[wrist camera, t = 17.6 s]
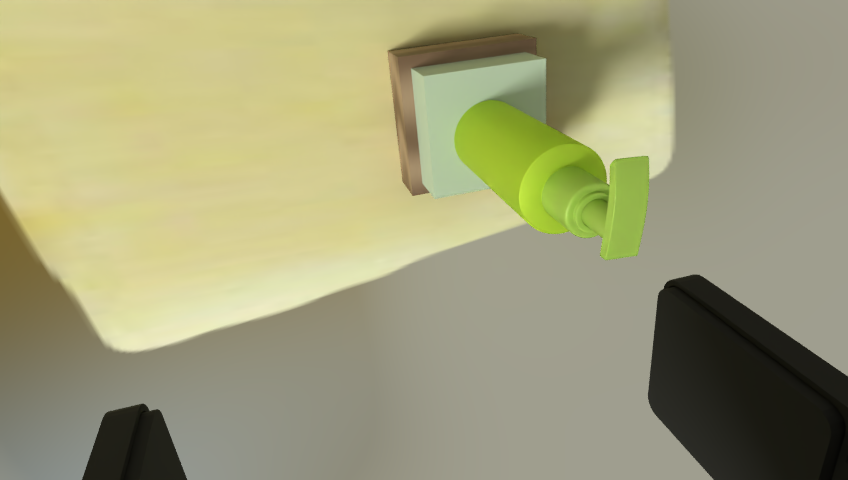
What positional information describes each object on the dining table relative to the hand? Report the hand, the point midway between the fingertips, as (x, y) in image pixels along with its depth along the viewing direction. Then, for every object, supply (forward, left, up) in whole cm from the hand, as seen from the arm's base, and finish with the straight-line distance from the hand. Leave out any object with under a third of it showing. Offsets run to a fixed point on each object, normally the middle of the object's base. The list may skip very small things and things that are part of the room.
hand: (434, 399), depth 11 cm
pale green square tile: (+6, +14, -39) cm, 42 cm away
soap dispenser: (+6, +14, -36) cm, 39 cm away
